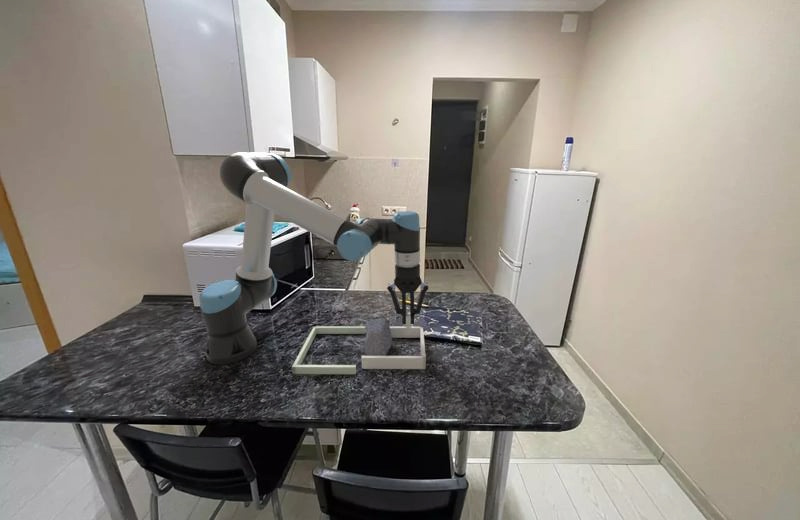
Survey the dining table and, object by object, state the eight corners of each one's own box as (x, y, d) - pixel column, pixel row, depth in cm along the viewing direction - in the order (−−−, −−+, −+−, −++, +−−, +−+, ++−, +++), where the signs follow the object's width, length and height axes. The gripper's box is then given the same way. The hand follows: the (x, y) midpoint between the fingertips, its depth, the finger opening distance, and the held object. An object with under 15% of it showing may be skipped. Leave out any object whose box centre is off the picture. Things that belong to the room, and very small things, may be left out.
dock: (361, 368, 93) (361, 357, 92) (368, 336, 110) (368, 326, 109) (425, 369, 93) (425, 358, 92) (422, 336, 110) (422, 326, 109)
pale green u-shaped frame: (292, 373, 91) (291, 366, 91) (314, 332, 113) (313, 326, 112) (355, 374, 91) (355, 367, 90) (365, 332, 113) (365, 326, 112)
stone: (371, 344, 109) (397, 338, 106) (366, 366, 100) (394, 361, 98) (358, 319, 103) (385, 313, 101) (351, 340, 95) (381, 334, 92)
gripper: (385, 268, 88) (387, 338, 96) (430, 267, 88) (429, 338, 95) (386, 260, 95) (389, 326, 103) (428, 259, 95) (427, 325, 102)
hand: (408, 332), depth 99 cm, fingers closed
